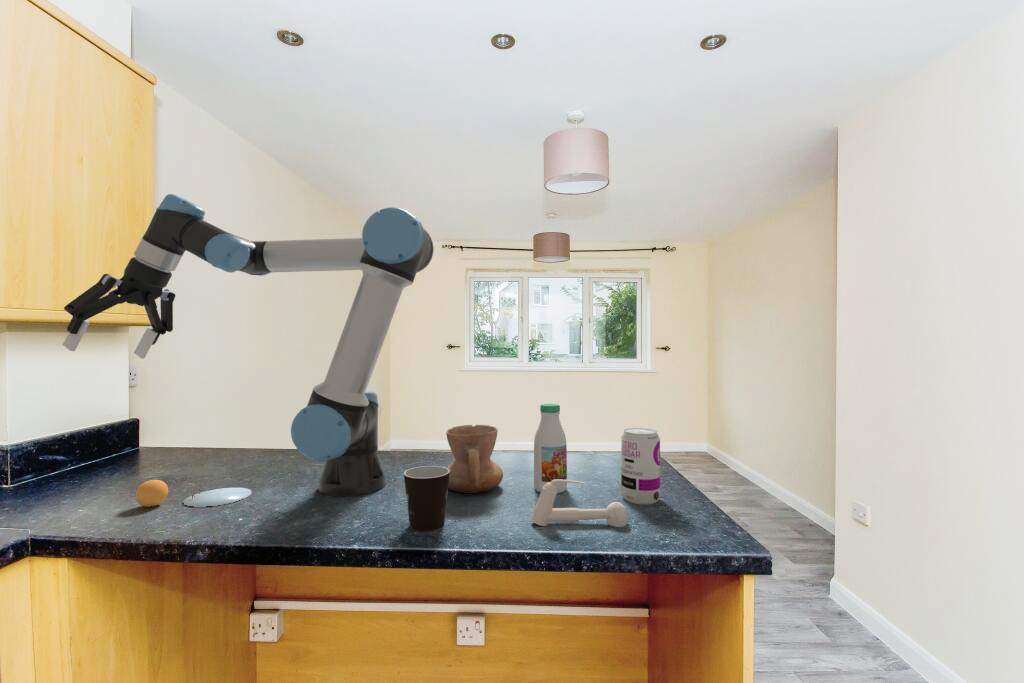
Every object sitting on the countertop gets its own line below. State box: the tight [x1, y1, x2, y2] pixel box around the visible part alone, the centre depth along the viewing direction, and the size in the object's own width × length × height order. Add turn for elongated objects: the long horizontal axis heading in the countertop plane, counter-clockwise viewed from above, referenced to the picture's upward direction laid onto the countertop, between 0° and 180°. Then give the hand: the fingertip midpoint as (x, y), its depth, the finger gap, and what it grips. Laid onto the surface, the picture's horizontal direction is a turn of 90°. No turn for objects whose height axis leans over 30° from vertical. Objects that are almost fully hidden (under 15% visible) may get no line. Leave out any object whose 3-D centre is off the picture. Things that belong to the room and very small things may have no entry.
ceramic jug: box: [445, 424, 504, 494], centre depth 109 cm, size 18×14×14 cm
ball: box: [135, 479, 169, 508], centre depth 98 cm, size 6×6×6 cm
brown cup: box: [403, 465, 450, 532], centre depth 89 cm, size 12×9×10 cm
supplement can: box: [620, 427, 661, 506], centre depth 102 cm, size 8×8×15 cm
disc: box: [182, 487, 253, 508], centre depth 104 cm, size 13×13×1 cm
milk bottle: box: [533, 403, 568, 494], centre depth 109 cm, size 8×8×20 cm
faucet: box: [530, 479, 628, 528], centre depth 88 cm, size 4×18×10 cm, turn 91°
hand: (105, 352), depth 99 cm, fingers open, 13 cm apart
